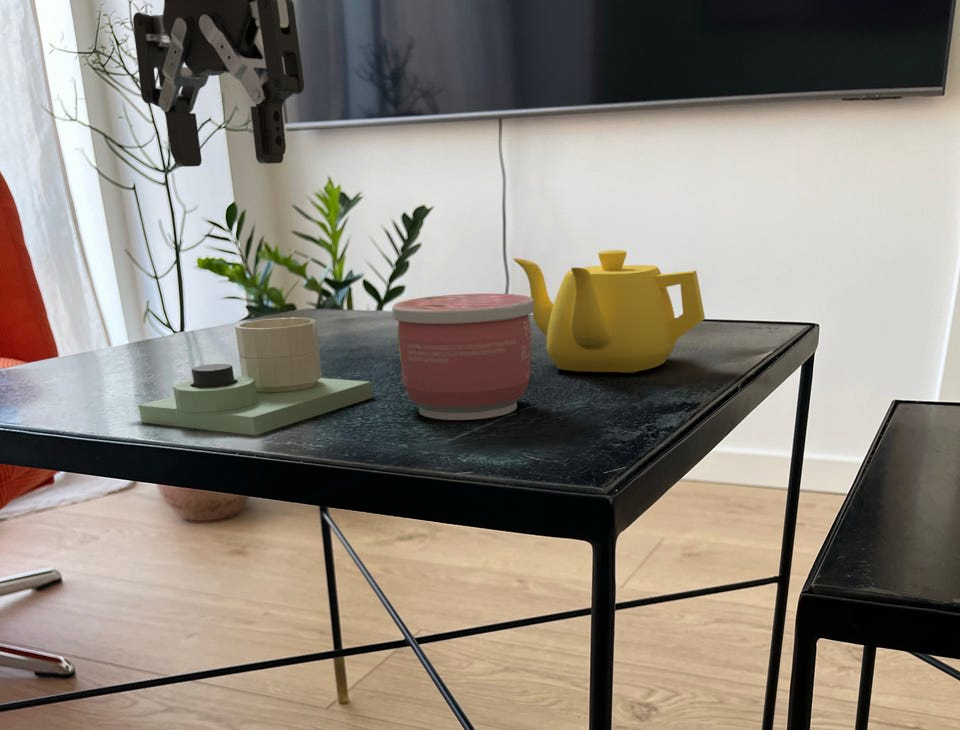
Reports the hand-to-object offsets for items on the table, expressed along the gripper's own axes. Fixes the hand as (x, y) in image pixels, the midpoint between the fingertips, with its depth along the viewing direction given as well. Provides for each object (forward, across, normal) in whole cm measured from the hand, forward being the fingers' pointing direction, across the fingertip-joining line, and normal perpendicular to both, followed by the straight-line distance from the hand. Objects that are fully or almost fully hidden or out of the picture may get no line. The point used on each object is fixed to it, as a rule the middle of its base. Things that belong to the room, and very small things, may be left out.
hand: (228, 164), depth 77 cm
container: (+18, +19, +4) cm, 26 cm away
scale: (+18, +3, -2) cm, 18 cm away
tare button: (+15, +3, -7) cm, 17 cm away
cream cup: (+16, +3, +1) cm, 17 cm away
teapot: (+18, +20, +24) cm, 36 cm away
